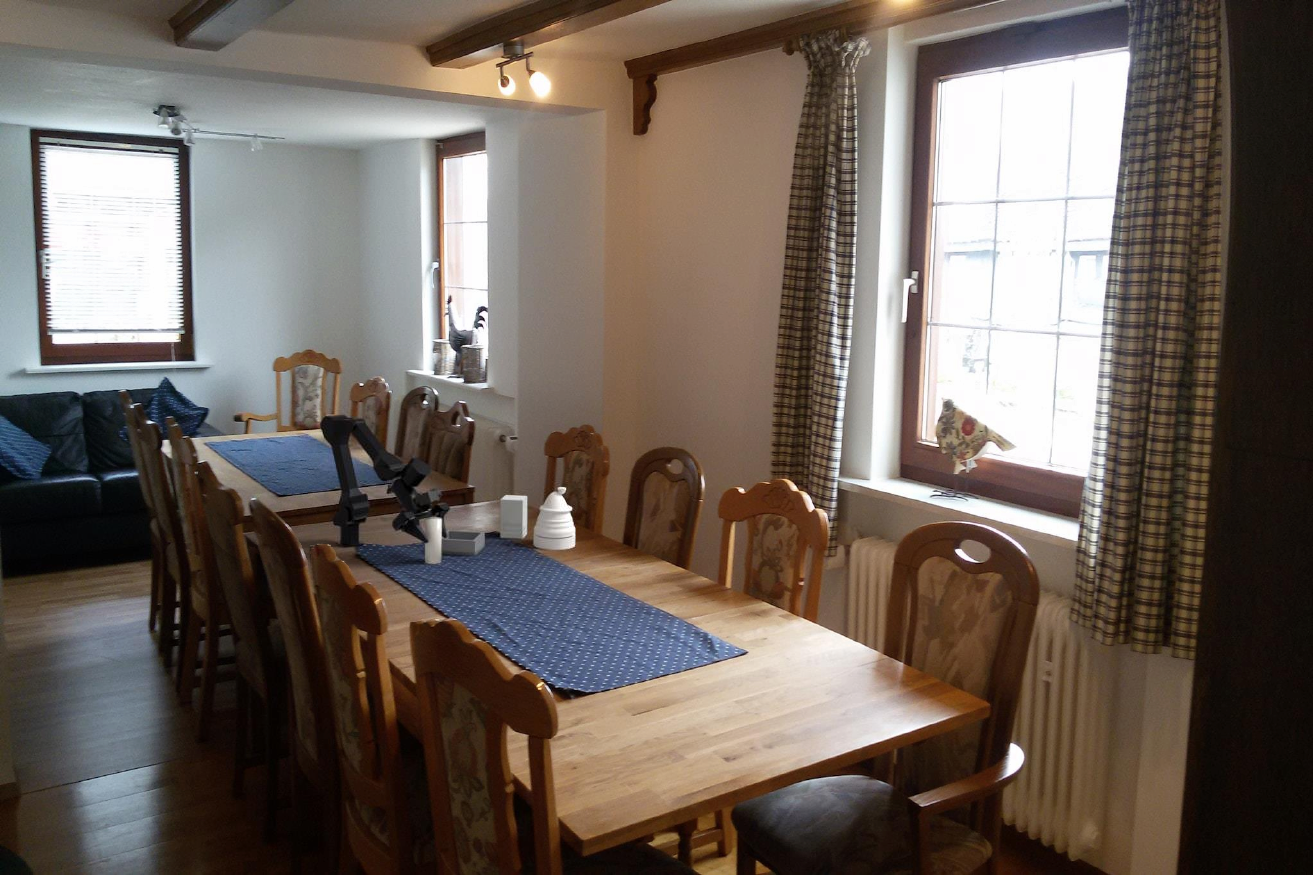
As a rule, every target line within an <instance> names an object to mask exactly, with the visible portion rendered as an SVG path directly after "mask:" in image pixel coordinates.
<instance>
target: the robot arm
mask: <svg viewBox="0 0 1313 875" xmlns="http://www.w3.org/2000/svg"><path fill="white" fill-rule="evenodd" d="M319 425H320V426H319V427H320V431H321V432H322V435H323V439H325V441H326V442H327V443H328V444H329V446H331V451H332V454H333V455H332V456H333V461H334V463H335V464H334V465H335V469H336V474H337V478H338V482H339V488H340V492H341V493H340V496H339V500H338V511H337V512H336V514H334V515H333V517H332V518H331V519H332V524H333V526H335V527H339V540H336V541H335V544H337V545H339V546H340V547H343V548H346V547H355V546H364V545H365V544H364V542H362V541H361V540H360V538H361V537H360V536H361V535H360V533H361V530H360V526H361V525H360V524H365V523H367V522H366V521H367V519H368V515H369V513H370V507H371V505H370V502H369V497H368V494H367V493H362V491H361V490H360V489H359V486H358V481H357V476H356V472H355V467H354V463H353V460H352V454H351V449H350V445H349V442H350V438H351V435H352V436H353V437H354V439H355V440H356V441H357V442H358V444H359V445H360V446H361V448H362V449H363V451H364V452H365V453H366V454H367V456H368V457H369V458H370V460H371V461H372V468H373V470H374V472H375V474H376V476H377V478H378V479H379V480H380V481H382V482H391V481H393V482H392V483H391V484H390V483H389V484H387V490H386V495H392V494H394V495H395V498H396V499H397V500H398V502H399V504H400V505H399V506H398V507H399V509H400V510H404V511H400V512H398V514H397V516H395V517H394V519H392V521H391V524H392V525H391V526H392V528H393V530H394V531H395V532H398V531H401V533H406V534H408V535H410V536H412V537H414V538H416V539H417V540H419V541H421V542H422V543H424V544H425V543H428V542H429V540H428V538H427V536H426V534H425V530H423V528H422V526H421V524H420V520H424V519H426V518H430V517H438V518H441V519H442V537H443V538H446V537H447V532H446V531H447V529H446V524H445V516H446V514H448V512H449V511H450V510H451V508H450V506H449V504H448V503H446V502H440V500H441V499H442V497H443V495H442V491H441V490H440V489H439V488H438V487H434V488H432V489H431V488H430V489H429V491H426V492H424V493H423V492H418V491H417V489H416V488H417V487H419V486H420V485H421V484H422V483H423V482H424V481H425V480H426V478H427V477H428V476H429V475H431V468H430V465H429V464H428V463H426V462H424V461H423V460H421V459H419V457H418V456H415V457H411V458H410V459H409V460H408V463H407V464H405V463H404V462H402V461H401V459H399V457H397V455H395V454H393V453H391V452H389V451H388V450H387V449H386V448H385V447H384V445H383V444H382V443H381V442H380V441H379V439H378V437H377V436H376V435H375V434H374V433H373V431H372V430H371V429H370V428H369V426H368V425H367V421H366V420H365V419H364V418H362V417H348V416H347V415H345V414H333V415H326V416H324V417H323V418H322V419H321V421H320V423H319ZM436 502H440V503H437V504H434V506H433V503H436ZM432 506H433V507H432ZM431 507H432V508H431ZM429 509H430V510H429Z"/></svg>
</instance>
